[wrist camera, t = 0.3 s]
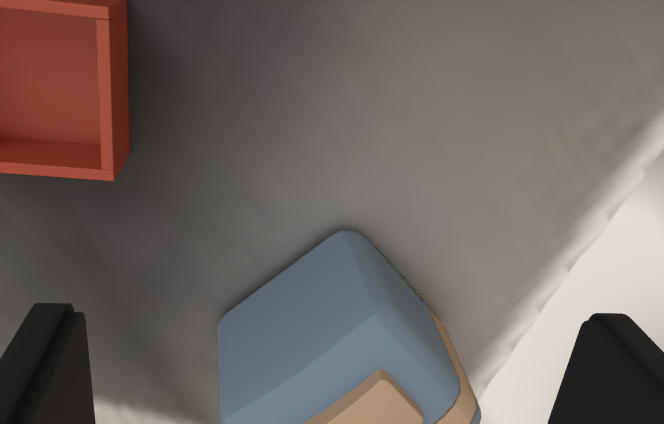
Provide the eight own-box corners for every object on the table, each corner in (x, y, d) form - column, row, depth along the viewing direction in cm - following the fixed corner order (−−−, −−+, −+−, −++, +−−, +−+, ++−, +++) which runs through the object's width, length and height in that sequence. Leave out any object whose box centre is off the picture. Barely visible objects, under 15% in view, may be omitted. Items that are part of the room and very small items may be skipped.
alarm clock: (319, 414, 59) (338, 566, 45) (208, 318, 53) (189, 460, 38) (449, 326, 56) (514, 458, 42) (349, 212, 50) (386, 323, 35)
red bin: (-54, -24, 39) (-100, -19, 34) (127, -2, 40) (108, 7, 35) (-31, 141, 43) (-69, 167, 38) (129, 154, 45) (113, 181, 40)
